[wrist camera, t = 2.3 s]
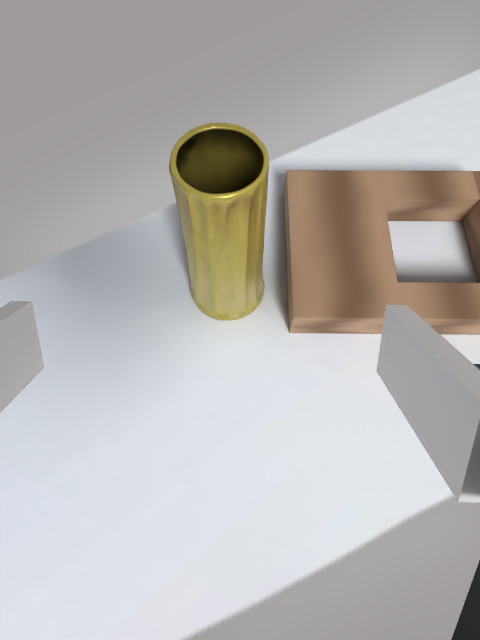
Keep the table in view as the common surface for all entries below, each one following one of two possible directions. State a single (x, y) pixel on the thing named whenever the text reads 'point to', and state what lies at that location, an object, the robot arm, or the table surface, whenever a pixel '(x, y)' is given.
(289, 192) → the frame
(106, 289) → the table surface
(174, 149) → the vase
